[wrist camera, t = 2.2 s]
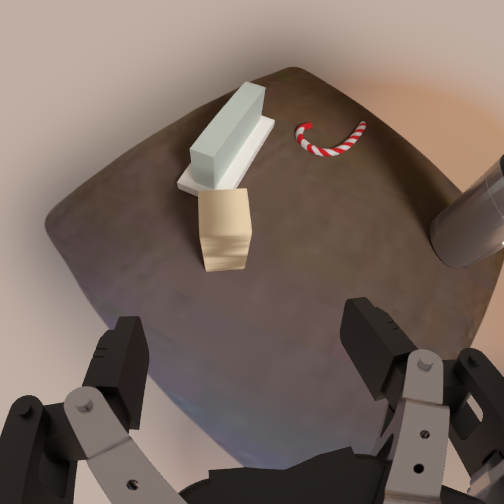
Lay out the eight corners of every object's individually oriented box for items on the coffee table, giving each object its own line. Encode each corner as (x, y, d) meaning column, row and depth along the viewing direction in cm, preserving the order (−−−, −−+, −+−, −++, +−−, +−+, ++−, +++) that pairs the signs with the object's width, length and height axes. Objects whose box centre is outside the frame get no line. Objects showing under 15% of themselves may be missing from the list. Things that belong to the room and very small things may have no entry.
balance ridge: (273, 126, 44) (281, 88, 36) (225, 208, 37) (225, 170, 30) (233, 113, 44) (236, 74, 37) (178, 188, 38) (169, 149, 30)
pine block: (240, 233, 36) (246, 188, 27) (244, 268, 35) (252, 232, 25) (204, 236, 36) (198, 191, 26) (206, 271, 34) (199, 235, 25)
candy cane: (378, 133, 45) (319, 161, 41) (376, 138, 46) (317, 166, 42) (349, 106, 47) (287, 127, 43) (347, 111, 48) (286, 133, 44)
